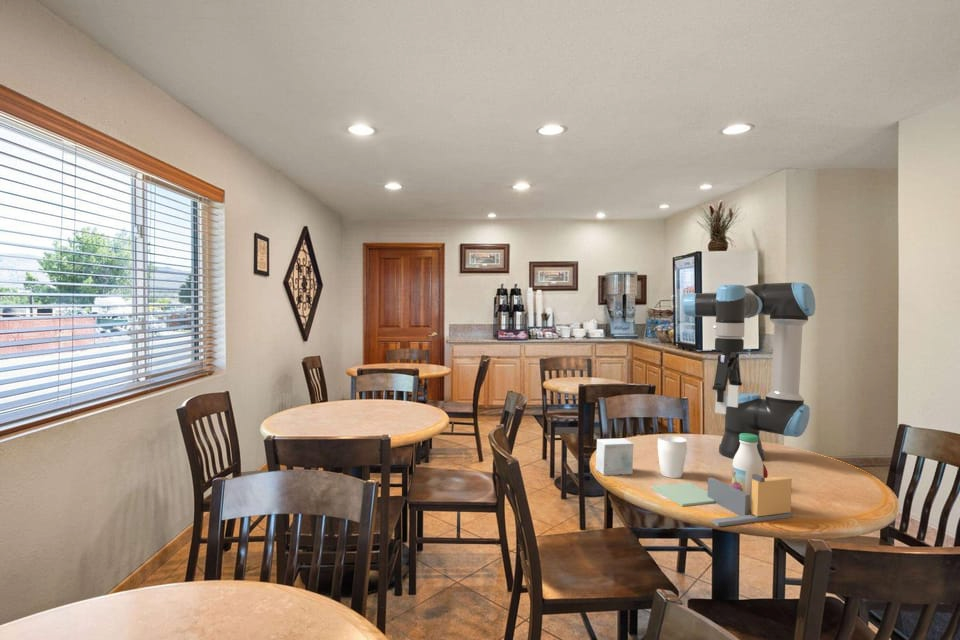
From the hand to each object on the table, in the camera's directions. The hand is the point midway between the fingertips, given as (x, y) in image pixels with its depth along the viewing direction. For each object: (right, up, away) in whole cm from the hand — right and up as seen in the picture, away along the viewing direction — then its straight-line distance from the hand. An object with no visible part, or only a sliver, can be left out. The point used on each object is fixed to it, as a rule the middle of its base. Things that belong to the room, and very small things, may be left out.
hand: (726, 410), depth 145 cm
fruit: (+12, -25, +9) cm, 29 cm away
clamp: (-3, -25, -10) cm, 27 cm away
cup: (-10, -25, +18) cm, 32 cm away
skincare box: (-28, -24, +20) cm, 42 cm away
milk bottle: (+2, -26, -7) cm, 27 cm away
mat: (-12, -25, 0) cm, 28 cm away
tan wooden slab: (+4, -24, -15) cm, 29 cm away
